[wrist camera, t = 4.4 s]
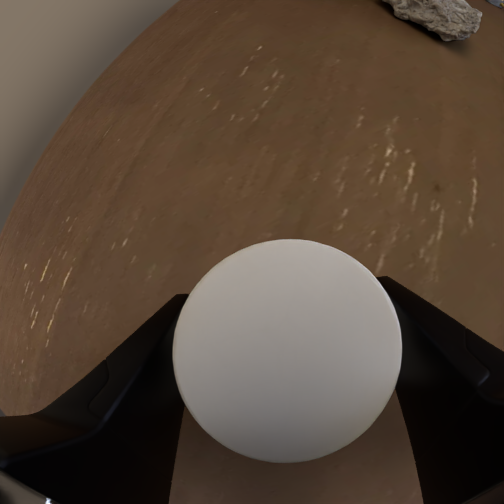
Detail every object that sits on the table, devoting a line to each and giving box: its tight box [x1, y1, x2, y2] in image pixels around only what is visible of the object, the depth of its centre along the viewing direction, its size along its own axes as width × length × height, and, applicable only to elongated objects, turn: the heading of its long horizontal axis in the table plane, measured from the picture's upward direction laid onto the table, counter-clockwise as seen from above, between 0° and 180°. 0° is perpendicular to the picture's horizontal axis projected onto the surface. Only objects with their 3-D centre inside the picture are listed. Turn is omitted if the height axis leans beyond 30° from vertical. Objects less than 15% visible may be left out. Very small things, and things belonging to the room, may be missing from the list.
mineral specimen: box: [382, 0, 482, 41], centre depth 19 cm, size 6×11×12 cm
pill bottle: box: [173, 239, 402, 463], centre depth 10 cm, size 6×6×10 cm
